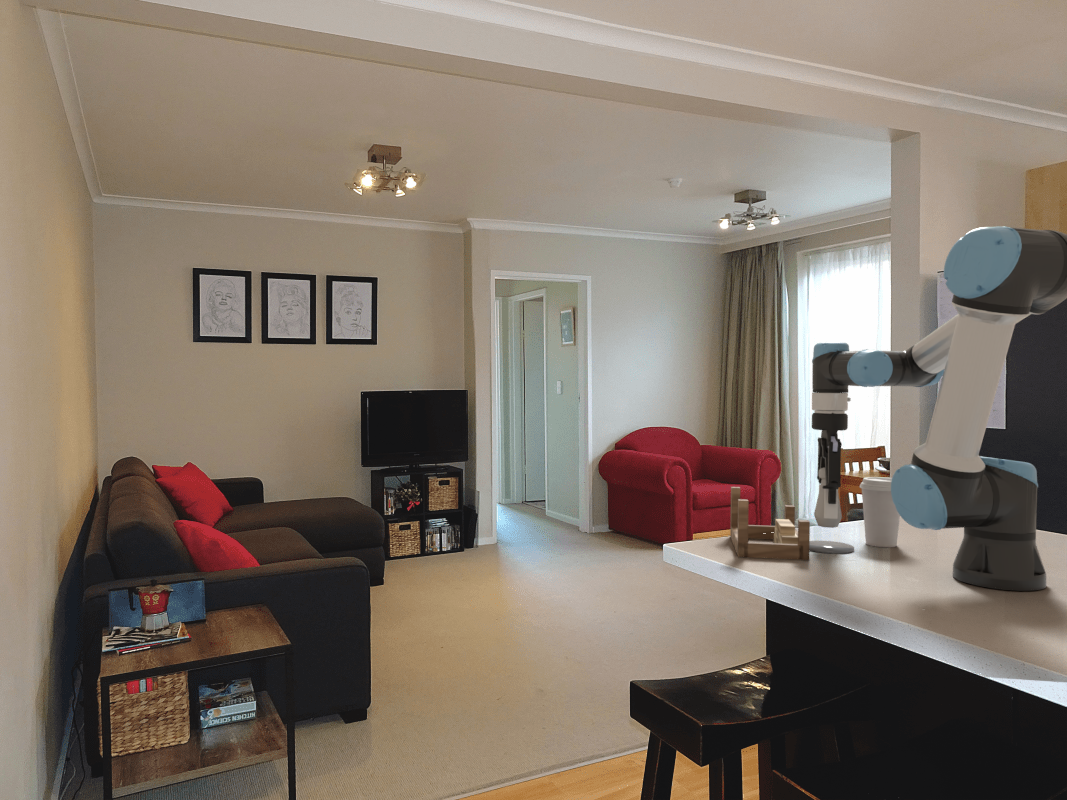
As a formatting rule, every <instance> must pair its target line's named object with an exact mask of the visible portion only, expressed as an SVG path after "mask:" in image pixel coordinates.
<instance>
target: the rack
mask: <svg viewBox="0 0 1067 800" xmlns="http://www.w3.org/2000/svg"><path fill="white" fill-rule="evenodd" d="M795 513H796V507H795V505H791V504H789V505H787V504H785V505H784V519H789V520H790V521H791V522H792V524H793V525H794V526H795V525H796V524H795V522H796V521H795V520H796V518H795V517H796V514H795ZM810 523H811V522H810V521H809V520H806V519H798V520H797V529H796V528H795V534H796V535H797V536H798V544H780V543H774V542H755V541H754V542H753V541H752V542H751V541H749V539H750V540H751V539H755V540H774V533H775V525H759V524H756V525H755V524H749V500H748V499H745V498H743V499H742V498H741V486H730V533H729V534H730V536H729V537H730V539H731V543H732V545H733V547H734V549H735V552H736V555H737V558H749V559H754V558H755V559H756V558H757V559H773V560H775V559H776V560H797V561H798V560H799V561H800V560H801V561H810V551H809V541H811V539H810V537H811V536H810V535H811V534H810V532H811V529H810V526H811V524H810ZM795 527H796V526H795ZM771 532H774V533H771ZM763 533H766V534H763Z"/></svg>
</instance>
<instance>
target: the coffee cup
mask: <svg viewBox="0 0 1067 800" xmlns="http://www.w3.org/2000/svg"><path fill="white" fill-rule="evenodd" d="M891 481H892V477H880V476H879V477H878V476H868V477H867V476H866V477H863V479H862V482H860V484H859V488H860V489H861V495H862V496H861V497H862V510H863V521H864V523H863V524H864V535H865V536H864V538H865V544H866V545H868V546H872V547H878V548H895V547H897V545H898V536H899V529H900V528H899V527H900V521H901V520H900V519H901V516H900V515H899V513H898V512H897V510H896V507H895V505H894V503H893V500H892V496H891Z"/></svg>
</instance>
